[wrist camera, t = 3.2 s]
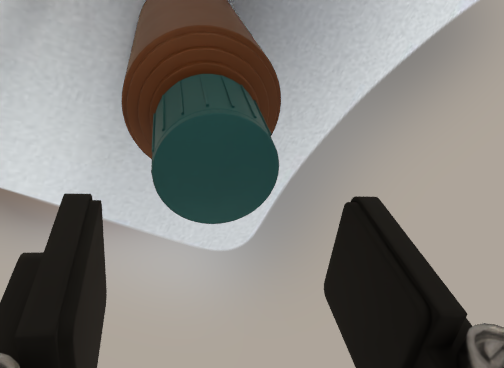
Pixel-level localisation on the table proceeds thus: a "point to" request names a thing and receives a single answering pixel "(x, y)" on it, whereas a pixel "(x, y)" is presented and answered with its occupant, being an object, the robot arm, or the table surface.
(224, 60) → the bottle
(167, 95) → the cap
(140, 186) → the table surface
